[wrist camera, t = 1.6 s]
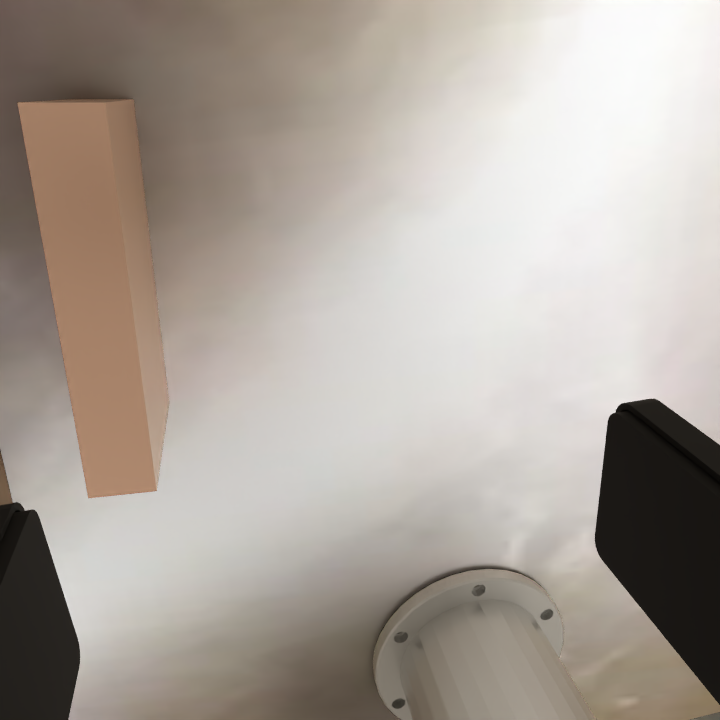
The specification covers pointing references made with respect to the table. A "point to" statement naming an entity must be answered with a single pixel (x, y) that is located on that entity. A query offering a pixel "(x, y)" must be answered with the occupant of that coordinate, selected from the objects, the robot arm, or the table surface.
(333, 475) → the table surface
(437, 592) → the robot arm
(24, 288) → the table surface
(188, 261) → the table surface
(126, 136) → the clay strip
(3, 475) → the wooden stepped riser
